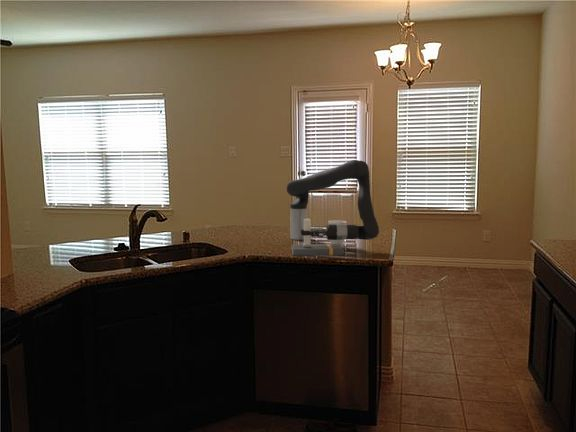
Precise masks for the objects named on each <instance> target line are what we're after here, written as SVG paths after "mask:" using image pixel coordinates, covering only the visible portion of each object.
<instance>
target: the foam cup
mask: <svg viewBox="0 0 576 432" xmlns="http://www.w3.org/2000/svg"><path fill="white" fill-rule="evenodd" d="M327 223H328V224H343V225H347V224H348V223H347V221H346V220H338V219H337V220H328V222H327ZM328 224H327V225H328ZM329 241H330V244H340V245H341V246H342V247H343V248H344V242H345V239H344V240H329Z"/></svg>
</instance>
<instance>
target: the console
mask: <svg viewBox="0 0 576 432" xmlns="http://www.w3.org/2000/svg"><path fill="white" fill-rule="evenodd" d="M344 251H345V249H344V246H343V247H342V246H341V245H340V244H331V243H325V244H324V243H322V244H321V243H317V244H315V243H314V244H312V243H311V247H304V246H303V243H302V244H301V243H299V244H291V253H292V256H297V257H298V256H344V255H345V252H344Z"/></svg>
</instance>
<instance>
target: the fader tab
mask: <svg viewBox="0 0 576 432" xmlns="http://www.w3.org/2000/svg"><path fill="white" fill-rule="evenodd" d="M311 222H312V221H311V219H310V218H307V219H304V231H310V230H311V228H312V226H311ZM311 238H312V236H309V235H304V239H303V243H302V244H303V246H304V247H311V244H312V242H311Z"/></svg>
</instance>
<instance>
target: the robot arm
mask: <svg viewBox="0 0 576 432" xmlns="http://www.w3.org/2000/svg"><path fill="white" fill-rule="evenodd" d="M344 180H357V183H358V186H359V189H358V197H357V210H358V213H359V217H360V218H359V219H360V220H361V221H362V224H363V225H356V224H346V225H343V224H326V227H325V228H324V227H313V228H312V227H311V230H310V231H304V219H308V216H307V215H308V213H307V209H308V208H307V207H308V203H309V196H310V195H309V193H310V191H312V192H313V191H320V190H324V189H325V190H326V189H328V188H331V187H333V186H335V185H336V184H337V183H338V182H340V181H344ZM286 192H287V193H288V195H289V196H291V197H295V199H294V200H293V201H292V202H291V203H290V205H289V206H290V209H289V210H290V211H289V212H290V213H289V214H290V217H289V220H290V223H289V224H290V225H289V226H290V227H289V228H290V231H289V232H290V234H289V235H290V239H291V240H296V241H298V240H300V241H301V240H303V241H304V235H309V236H311V238H312V237H313V238H315V237H316V238H324V237H325V236H326V240H328V241H330V240H344V241H345V240H363V241H366V240H367V241H369V240H370V241H371V240H373V239H376V238H377V237H378V236H379V232H380V229H379V224H378V221H377V218H376V215H375V212H374V207H373V202H372V201H373V200H372V196H371V185H370V169H369V165H368V163H367V162H366V161H364V160H360V159H359V160H357V159H353V160H349V161H346V162H344V163H342V164H340V165H338V166H336V167H331V168H328V169H324V170H322V171H318V172H316V173H313V174H311V175H308V176H306V177H302V178H298V179H293V180H291V181H289V182H288V184H287V185H286Z"/></svg>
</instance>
